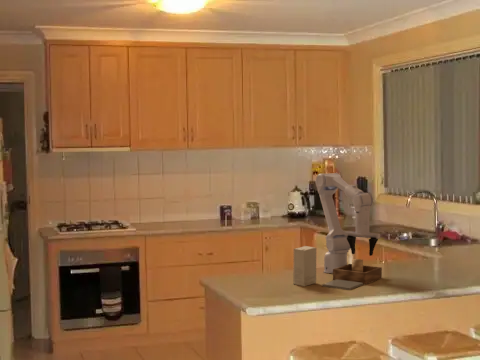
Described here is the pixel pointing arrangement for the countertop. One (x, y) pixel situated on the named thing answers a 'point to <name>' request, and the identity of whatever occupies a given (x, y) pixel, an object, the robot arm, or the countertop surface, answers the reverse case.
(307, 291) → the countertop surface
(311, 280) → the skincare box
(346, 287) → the slate tile
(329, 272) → the robot arm
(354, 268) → the maple spool
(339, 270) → the walnut crate
